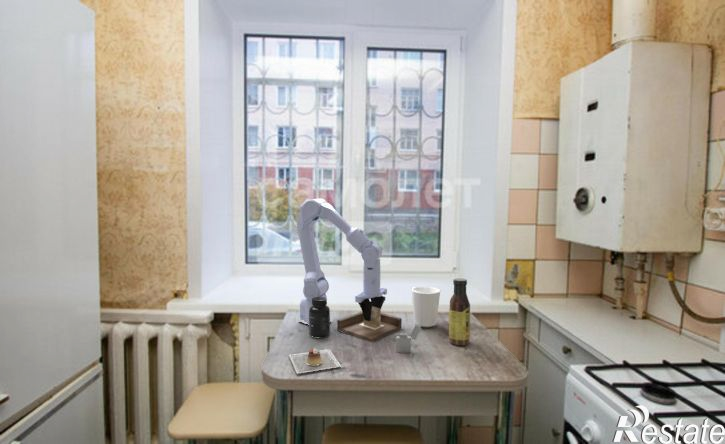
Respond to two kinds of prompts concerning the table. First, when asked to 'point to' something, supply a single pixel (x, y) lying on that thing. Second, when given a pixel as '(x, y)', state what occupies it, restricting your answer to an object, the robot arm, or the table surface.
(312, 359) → the dessert
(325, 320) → the supplement bottle
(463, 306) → the sauce bottle
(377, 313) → the maple block
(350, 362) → the table surface
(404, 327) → the table surface
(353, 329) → the corner board
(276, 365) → the table surface
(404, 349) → the lighter
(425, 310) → the cup
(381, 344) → the table surface
